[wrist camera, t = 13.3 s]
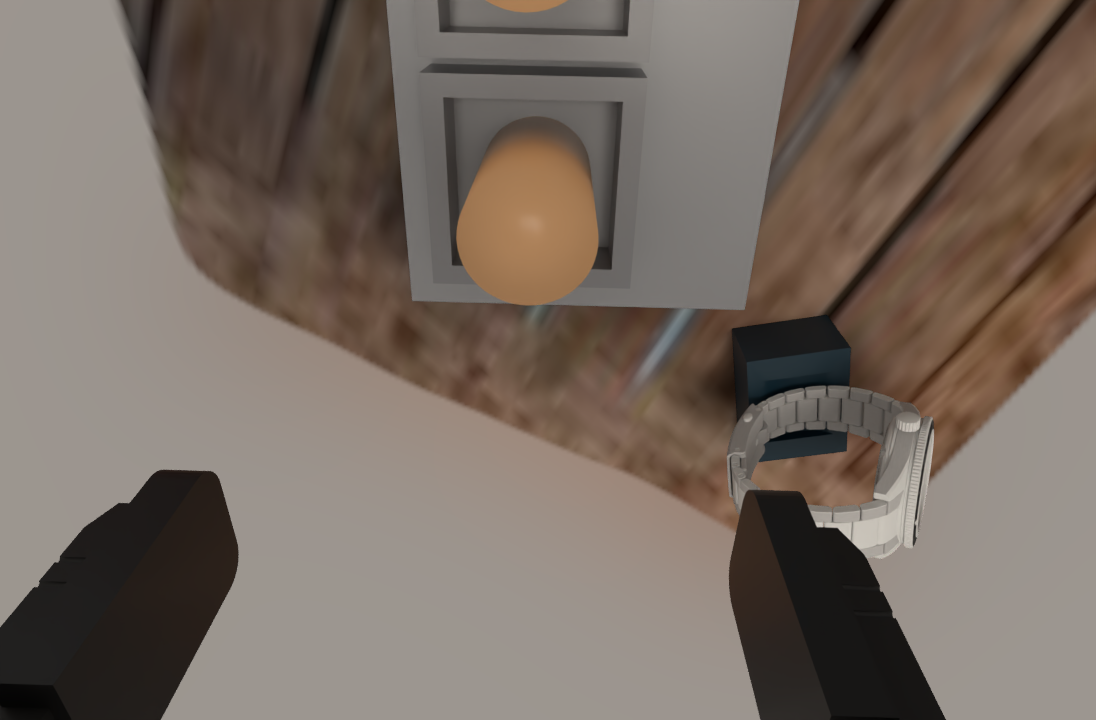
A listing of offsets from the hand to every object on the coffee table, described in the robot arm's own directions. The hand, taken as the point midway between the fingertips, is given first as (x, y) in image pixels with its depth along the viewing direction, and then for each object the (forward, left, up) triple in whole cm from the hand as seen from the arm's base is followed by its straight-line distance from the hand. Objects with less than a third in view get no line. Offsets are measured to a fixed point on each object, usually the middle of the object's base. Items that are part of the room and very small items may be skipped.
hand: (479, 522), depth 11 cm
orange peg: (0, 0, -21) cm, 21 cm away
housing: (-3, +2, -21) cm, 21 cm away
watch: (+10, +12, -21) cm, 26 cm away
